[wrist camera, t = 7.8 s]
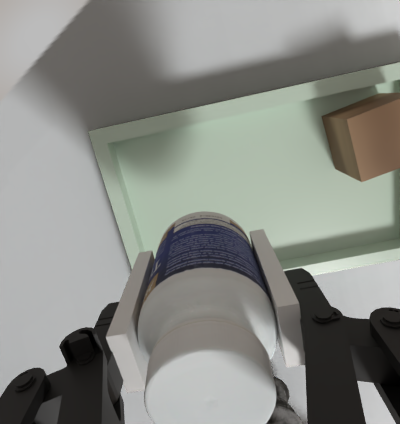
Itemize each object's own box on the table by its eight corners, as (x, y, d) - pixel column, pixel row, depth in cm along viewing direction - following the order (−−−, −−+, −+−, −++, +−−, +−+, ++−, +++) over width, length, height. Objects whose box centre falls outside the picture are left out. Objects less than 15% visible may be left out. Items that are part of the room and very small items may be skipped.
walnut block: (335, 168, 23) (361, 182, 20) (321, 116, 22) (346, 119, 18) (389, 148, 23) (427, 158, 19) (378, 93, 22) (416, 91, 18)
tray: (147, 292, 27) (143, 306, 26) (96, 128, 23) (87, 131, 21) (407, 243, 26) (423, 255, 24) (408, 59, 21) (429, 55, 20)
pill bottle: (149, 216, 18) (96, 343, 9) (244, 201, 18) (294, 315, 8) (168, 297, 20) (142, 472, 10) (255, 284, 19) (305, 453, 10)
